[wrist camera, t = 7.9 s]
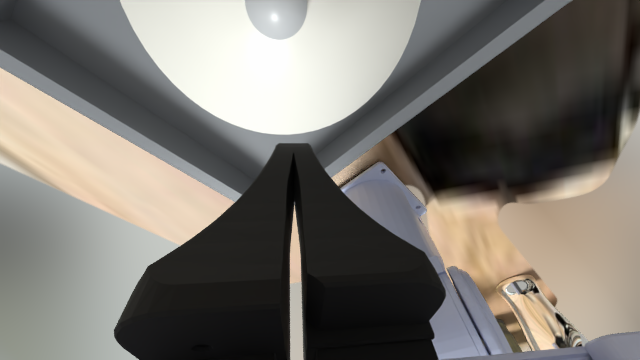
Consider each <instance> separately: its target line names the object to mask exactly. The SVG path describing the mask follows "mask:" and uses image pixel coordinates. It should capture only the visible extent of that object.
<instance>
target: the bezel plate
mask: <svg viewBox="0 0 640 360" xmlns="http://www.w3.org/2000/svg"><path fill="white" fill-rule="evenodd" d="M570 1H572V0H421V2H420V6H419V10H418V14H417V18H416V22H415V25H414V28H413V30H412V33H411V36H410V39H409V41H408V44H407V46H406V48H405V50H404V52H403V54H402V56H401V58H400V60H399V62H398V63H397V65H396V67H395V68H394V70H393V71H392V73H391V75H390V76H389V77H388V79H387V80H386V81H385V83H384V84H383V85H382V86H381V88H380V89H379V90H378V91H377V92H376V93H375V94H374V95H373V96H372V97H371V98H370V99H369V100H368V101H367V102H366V103H365V104H364V105H362V106H361V107H360V108H359V109H358V110H356V111H355V112H353V113H352V114H350V115H349V116H347V117H346V118H344V119H342V120H340V121H338V122H336V123H334V124H332V125H330V126H327V127H324V128H321V129H319V130H315V131H311V132H306V133H300V134H291V135H277V134H267V133H260V132H256V131H252V130H247V129H244V128H241V127H239V126H236V125H233V124H231V123H228V122H226V121H224V120H222V119H220V118H218V117H216V116H214V115H213V114H211V113H210V112H208V111H206V110H205V109H203V108H201V107H200V106H199V105H198V104H196V103H195V102H194V101H192V100H191V99H190V98H188V97H187V96H186V95H185V94H184V93H183V92H182V91H180V90H179V89H178V88H177V87H176V86H175V85H174V84H173V83H172V82H171V81H170V80H169V79H168V77H167V76H166V75H165V74H164V73H163V72H162V71H161V70H160V69H159V67H158V66H157V65H156V63H155V62H154V61H153V59H152V58H151V57H150V55H149V54H148V52H147V51H146V50H145V48H144V46H143V45H142V43H141V41H140V40H139V38H138V36H137V35H136V33H135V32H134V30H133V28H132V26H131V24H130V22H129V20H128V18H127V15H126V13H125V11H124V9H123V7H122V5H121V2H120V0H0V68H2V69H4V70H6V71H7V72H9V73H11V74H13V75H14V76H16V77H18V78H20V79H21V80H23V81H25V82H27V83H28V84H30V85H32V86H34V87H35V88H37V89H39V90H40V91H42V92H44V93H46V94H47V95H49V96H51V97H53V98H54V99H56V100H58V101H60V102H61V103H63V104H65V105H67V106H68V107H70V108H72V109H74V110H75V111H77V112H79V113H81V114H82V115H84V116H86V117H88V118H89V119H91V120H93V121H95V122H96V123H98V124H100V125H102V126H103V127H105V128H107V129H109V130H110V131H112V132H114V133H116V134H117V135H119V136H121V137H123V138H124V139H126V140H128V141H130V142H131V143H133V144H135V145H136V146H138V147H140V148H142V149H143V150H145V151H147V152H149V153H150V154H152V155H154V156H156V157H157V158H159V159H161V160H163V161H164V162H166V163H168V164H170V165H171V166H173V167H175V168H177V169H178V170H180V171H182V172H184V173H185V174H187V175H189V176H191V177H192V178H194V179H196V180H198V181H199V182H201V183H203V184H205V185H206V186H208V187H210V188H212V189H213V190H215V191H217V192H219V193H220V194H222V195H224V196H225V197H227V198H229V199H231V200H232V201H234V202H236V201H237V200H238V199H239V198H240V197H241V196H242V194H243V193H244V192H245V191H246V190H247V189H248V188H249V186H250V185H251V184H252V183H253V181H254V180H255V179H256V178H257V176H258V175H259V174H260V172H261V171H262V169H263V168H264V166H265V165H266V163H267V162H268V160H269V158H270V157H271V155H272V153H273V151H274V149H275V146H276V145H277V144H278V143H309V144H310V145H311V147H312V150H313V152H314V153H315V155H316V157H317V159H318V160H319V162H320V163H321V165H322V166H323V168H324V169H325V171H326V172H327V173H328V175H329V176H330V177H333V176H334V175H335V174H337V173H338V172H340V171H341V170H342V169H344V168H345V167H346V166H348V165H349V164H350V163H352V162H353V161H354V160H356V159H357V158H359V157H360V156H361V155H363V154H364V153H365V152H367V151H368V150H369V149H371V148H372V147H373V146H375V145H376V144H378V143H379V142H380V141H382V140H383V139H384V138H386V137H387V136H388V135H390V134H391V133H392V132H394V131H395V130H397V129H398V128H399V127H401V126H402V125H403V124H405V123H406V122H407V121H409V120H410V119H411V118H413V117H414V116H416V115H417V114H418V113H420V112H421V111H422V110H424V109H425V108H426V107H428V106H429V105H430V104H432V103H433V102H435V101H436V100H437V99H439V98H440V97H441V96H443V95H444V94H445V93H447V92H448V91H449V90H451V89H452V88H453V87H455V86H456V85H458V84H459V83H460V82H462V81H463V80H464V79H466V78H467V77H468V76H470V75H471V74H472V73H474V72H475V71H477V70H478V69H479V68H481V67H482V66H483V65H485V64H486V63H487V62H489V61H490V60H491V59H493V58H494V57H496V56H497V55H498V54H500V53H501V52H502V51H504V50H505V49H506V48H508V47H509V46H510V45H512V44H513V43H515V42H516V41H517V40H519V39H520V38H521V37H523V36H524V35H525V34H527V33H528V32H529V31H531V30H532V29H534V28H535V27H536V26H538V25H539V24H540V23H542V22H543V21H544V20H546V19H547V18H548V17H550V16H551V15H553V14H554V13H555V12H557V11H558V10H559V9H561V8H562V7H563V6H565V5H566V4H567V3H569V2H570ZM294 205H295V202H294Z"/></svg>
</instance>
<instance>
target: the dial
mask: <svg viewBox="0 0 640 360" xmlns="http://www.w3.org/2000/svg"><path fill="white" fill-rule="evenodd" d="M120 2H121V5H122V7H123V9H124V11H125V13H126V15H127V18H128V20H129V22H130V24H131V26H132V28H133V30H134V32H135V33H136V35H137V36H138V38H139V40H140V41H141V43H142V45H143V46H144V48H145V50H146V51H147V52H148V54H149V55H150V57H151V58H152V59H153V61H154V62H155V63H156V65H157V66H158V67H159V69H160V70H161V71H162V72H163V73H164V74H165V75H166V76H167V77H168V79H169V80H170V81H171V82H172V83H173V84H174V85H175V86H176V87H177V88H178V89H179V90H180V91H182V92H183V93H184V94H185V95H186V96H187V97H188V98H190V99H191V100H192V101H194V102H195V103H196V104H198V105H199V106H200V107H201V108H203V109H205V110H206V111H208V112H210V113H211V114H213V115H214V116H216V117H218V118H220V119H222V120H224V121H226V122H228V123H231V124H233V125H236V126H239V127H241V128H244V129H247V130H252V131H256V132H260V133H267V134H277V135H291V134H300V133H306V132H311V131H315V130H319V129H321V128H324V127H327V126H330V125H332V124H334V123H336V122H338V121H340V120H342V119H344V118H346V117H347V116H349V115H350V114H352V113H353V112H355V111H356V110H358V109H359V108H360V107H361V106H362V105H364V104H365V103H366V102H367V101H368V100H369V99H370V98H371V97H372V96H373V95H374V94H375V93H376V92H377V91H378V90H379V89H380V88H381V86H382V85H383V84H384V83H385V81H386V80H387V79H388V77H389V76H390V75H391V73H392V71H393V70H394V68H395V67H396V65H397V63H398V62H399V60H400V58H401V56H402V54H403V52H404V50H405V48H406V46H407V44H408V41H409V39H410V36H411V33H412V30H413V28H414V25H415V22H416V18H417V14H418V10H419V6H420V2H421V0H120Z"/></svg>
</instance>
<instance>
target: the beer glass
mask: <svg viewBox="0 0 640 360" xmlns="http://www.w3.org/2000/svg"><path fill="white" fill-rule="evenodd" d="M496 291H497V293H498V294H499V295H500V296H501V297H502V298H503V299H504V300H505V302H506V303H507V304H508V305H509V307H510V308H511V310H512V311H513V313H514V315H515V316H516V318H517V321H518V323H519V325H520V327H521V329H522V331H523V334H524V336H525V338H526V340H527V342H528V345H529V347H530V348H531V350H532V351H537V350H548V349H558V348H569V347H580V346H585V344H586V343H588V342H589V341H588V340H587V339H586V338H585V337H584V336H583V335H582V334H581V333H580V332H579V330H578V329H576V328H575V327H574V326H573V325H572V324H571V323H570V322H569V321H568V320H567V319H566V318H565V317H564V316H563V315H562V314H561V313H560V312H559V311H558V310H557V309H556V308H555V307H554V306H553V305H552V304H551V303H550V301H549V300H548V299H547V298H546V296H545V295H544V294H543V292H542V291H541V289H540V287H539V285H538V283H537V281H536V280H535V278H534V277H533V276H532V275H518V276H514V277H511V278H508V279H506V280H504V281H503V282H501V283H500V284H498V285H497V287H496Z"/></svg>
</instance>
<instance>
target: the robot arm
mask: <svg viewBox="0 0 640 360" xmlns="http://www.w3.org/2000/svg"><path fill="white" fill-rule="evenodd" d="M382 169H384V170H383V171H381V170H382ZM294 202H295V210H296V218H297V226H298V234H299V242H300V253H301V281H302V317H303V352H304V353H303V357H304V360H640V332H628V333H617V334H610V335H605V336H601V337H599V338H596V339H594V340H591V341H589V342H588V343H586V344H585V346H580V347H569V348H558V349H548V350H537V351H527V352H516V353H513V351H512V349H511V347H510V345H509V343H508V341H507V339H506V337H505V335H504V333H503V332H502V330H501V328H500V326H499V324H498V322H497V320H496V319H495V317H494V315H493V313H492V311H491V310H490V308H489V306H488V304H487V303H486V301H485V299H484V298H483V296H482V294H481V293H480V291H479V289H478V288H477V286H476V285H475V283H474V281H473V280H472V278H471V277H470V276H469V274H468V273H467V272H465V271H463V270H460V269H458V268H457V267H455V266H451V267H448V268H447V270H448V273H449V275H450V277H451V279H452V281H453V284H454V287H455V288H454V287H453V285H452V283H451V281H450V279H449V277H448V275H447V273H446V271H445V268H444V263H443V260H442V258H441V256H440V254H439V252H438V250H437V248H436V246H435V244H434V242H433V240H432V239H431V237H430V235H429V233H428V231H427V229H426V227H425V225H424V223H423V221H422V219H421V218H420V216H421V215H423V214H425V213H426V212H427V209H426V207H425V206H424V205H423V204H422V203H421V202H420V201H419V200H418V199H417V198H416V197H415V196H414V194H413V193H412V192H411V191H410V190H409V189H408V188H407V187H406V186H405V185H404V184H403V183H402V182H401V181H400V180H399V178H398V177H397V176H396V175H395V174H394V173H393V172H392V171H391V170H390V169H389V168H388V167H387V166H386V165H385V164H384V163H383V162H377V163H376V164H374V165H373V166H371V167H370V168H368V169H367V170H366V171H364V172H363V173H361V174H360V175H358V176H357V177H356V178H354V179H353V180H351V181H350V182H349V183H347V184H346V185H344V186H343V187H341V188H339V187H338V186H337V185H336V184H335V182H334V181H333V180H332V179H331V177H330V176H329V175H328V173H327V172H326V171H325V169H324V168H323V166H322V165H321V163H320V162H319V160H318V159H317V157H316V155H315V153H314V152H313V150H312V147H311V145H310V144H309V143H278V144H277V145H276V146H275V149H274V151H273V153H272V155H271V157H270V158H269V160H268V162H267V163H266V165H265V166H264V168H263V169H262V171H261V172H260V174H259V175H258V176H257V178H256V179H255V180H254V181H253V183H252V184H251V185H250V186H249V188H248V189H247V190H246V191H245V192H244V193H243V194H242V196H241V197H240V198H239V199H238V200H237V201H236V202H235V203H234V204H233V205H232V206H231V207H230V208H229V209H227V210H226V211H225V212H224V213H223V214H222V215H221V216H220V217H219V218H217V219H216V220H215V221H214V222H213V223H211V224H210V225H209V226H208V227H206V228H205V229H204V230H202V231H201V232H200V233H198V234H197V235H196V236H194V237H193V238H192V239H190V240H189V241H187V242H186V243H184V244H183V245H181V246H180V247H178V248H177V249H175V250H173V251H172V252H170V253H169V254H167V255H166V256H164V257H162V258H161V259H159V260H158V261H156V262H154V263H153V264H151V265H149V266H148V267H147V269H146V271H145V273H144V274H143V276H142V277H141V279H140V280H139V282H138V284H137V285H136V287H135V289H134V291H133V293H132V295H131V297H130V299H129V301H128V303H127V305H126V307H125V309H124V311H123V313H122V315H121V317H120V319H119V321H118V323H117V325H116V327H115V329H114V336H115V339H116V340H117V342H118V343H119V344H120V345H121V346H122V347H123V348H124V349H125V350H127V351H128V352H130V353H131V354H132V355H134V356H135V357H136V358H138V359H139V360H290V243H291V233H292V222H293V212H294ZM455 289H456V290H455ZM456 291H457V292H456ZM457 293H458V294H457ZM458 295H459V296H458ZM459 297H460V298H459ZM460 299H461V300H460ZM481 340H482V341H481ZM482 342H483V343H482ZM483 344H484V345H483Z"/></svg>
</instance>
